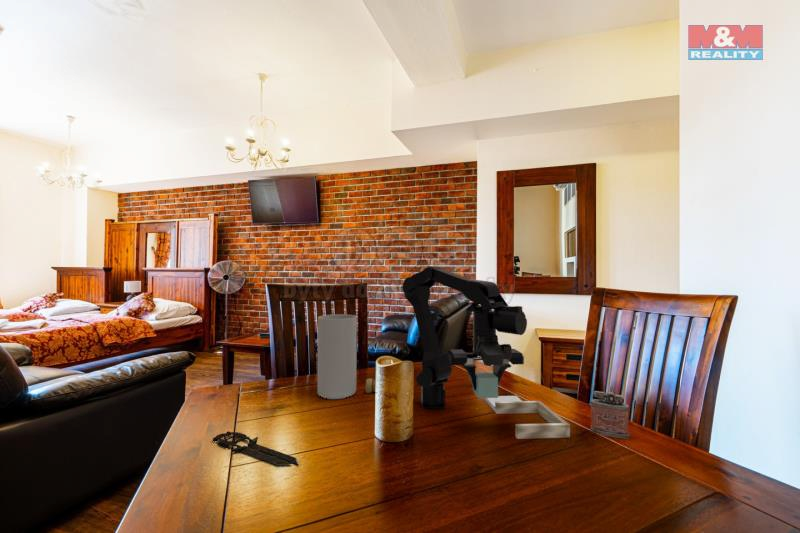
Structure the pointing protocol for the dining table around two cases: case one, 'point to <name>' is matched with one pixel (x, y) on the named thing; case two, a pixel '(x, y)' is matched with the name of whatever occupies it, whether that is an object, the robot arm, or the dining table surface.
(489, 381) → the cube
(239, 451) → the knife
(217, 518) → the dining table surface
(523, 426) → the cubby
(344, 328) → the cylinder vase
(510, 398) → the ceramic tile
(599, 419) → the lighter
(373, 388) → the gavel
